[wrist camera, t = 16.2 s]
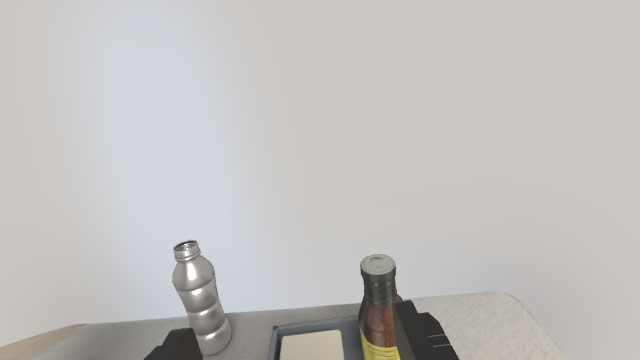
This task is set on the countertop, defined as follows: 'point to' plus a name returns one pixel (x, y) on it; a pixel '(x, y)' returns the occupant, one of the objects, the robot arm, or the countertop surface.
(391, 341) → the sauce bottle
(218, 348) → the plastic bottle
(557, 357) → the countertop surface
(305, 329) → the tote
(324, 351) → the cream rectangular box
